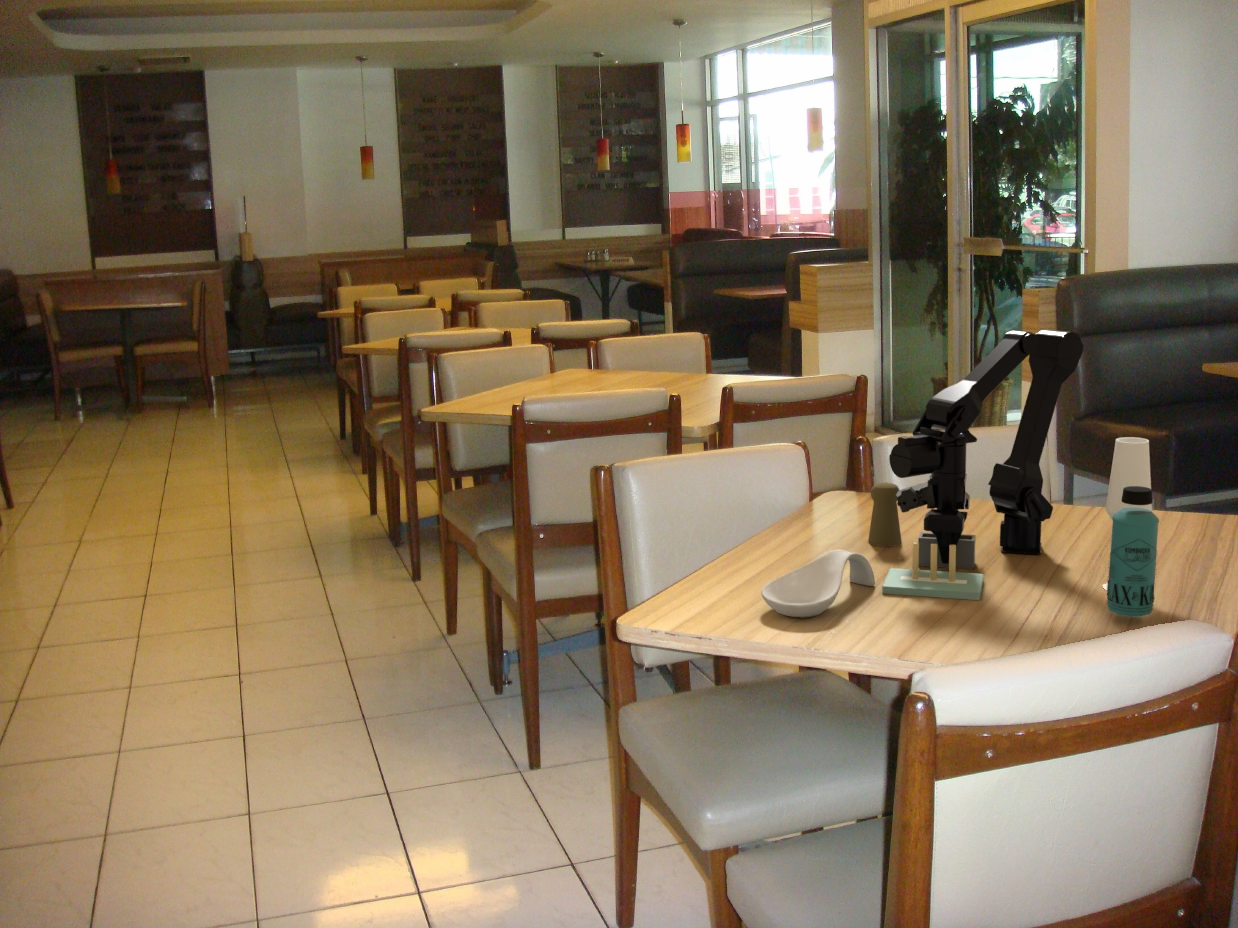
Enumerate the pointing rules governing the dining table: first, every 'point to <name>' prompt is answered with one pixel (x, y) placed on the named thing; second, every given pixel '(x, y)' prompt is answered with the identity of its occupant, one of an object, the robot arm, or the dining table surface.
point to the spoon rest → (816, 584)
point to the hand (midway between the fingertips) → (946, 558)
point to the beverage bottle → (1133, 555)
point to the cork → (884, 516)
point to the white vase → (1128, 473)
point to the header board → (933, 579)
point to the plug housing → (963, 551)
